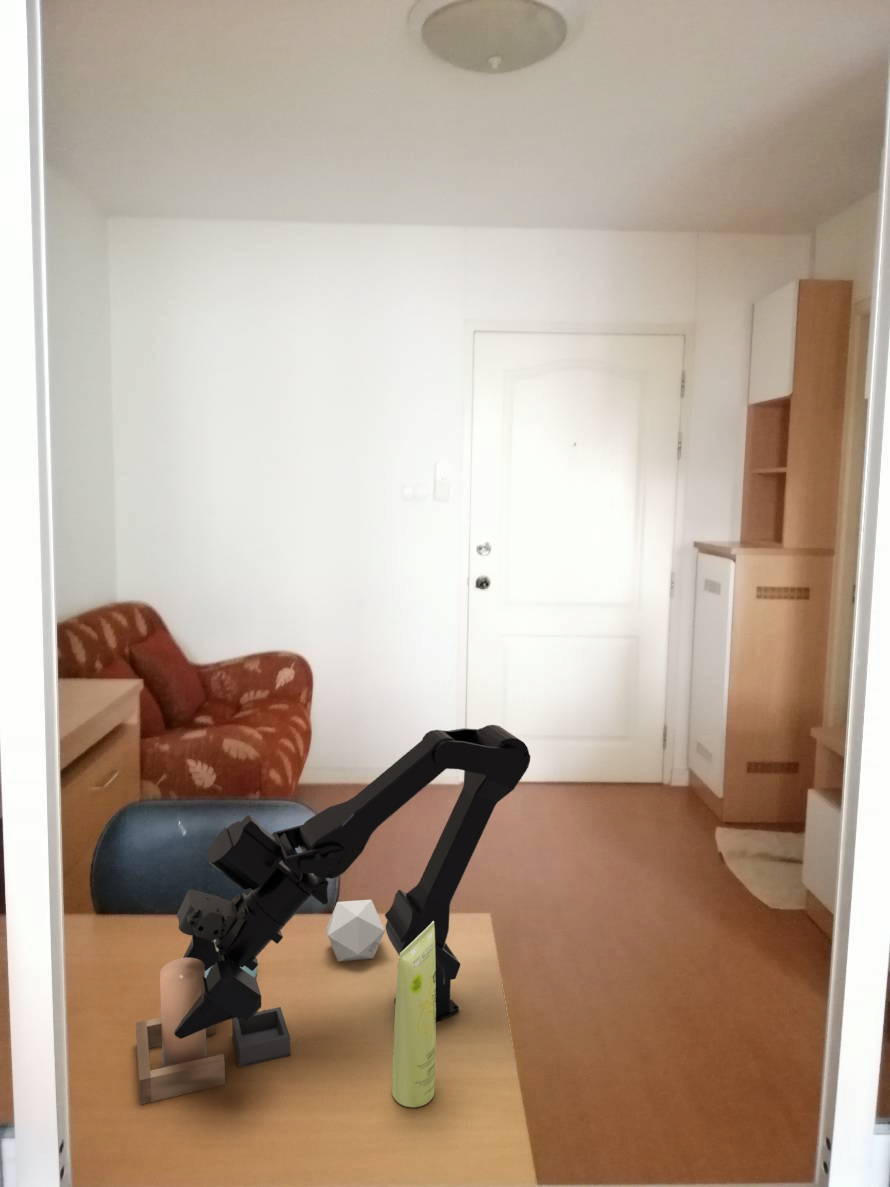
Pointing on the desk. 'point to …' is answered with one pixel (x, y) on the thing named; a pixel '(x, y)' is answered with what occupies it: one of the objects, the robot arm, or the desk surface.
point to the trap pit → (261, 1037)
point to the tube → (415, 1022)
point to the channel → (173, 1068)
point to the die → (355, 930)
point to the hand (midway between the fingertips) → (173, 1011)
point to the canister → (180, 1010)
